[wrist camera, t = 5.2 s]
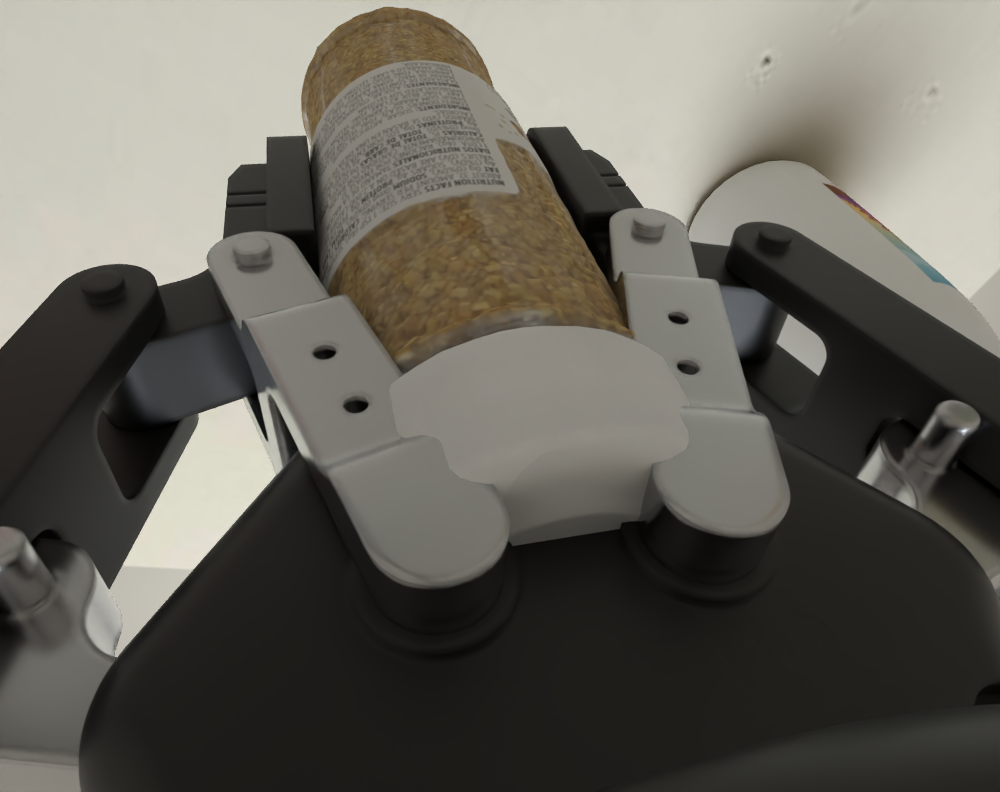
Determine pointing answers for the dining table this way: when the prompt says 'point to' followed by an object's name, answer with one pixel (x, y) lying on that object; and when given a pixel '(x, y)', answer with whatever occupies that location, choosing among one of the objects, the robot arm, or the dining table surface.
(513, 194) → the spice jar
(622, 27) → the dining table surface
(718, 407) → the robot arm
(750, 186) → the milk bottle
